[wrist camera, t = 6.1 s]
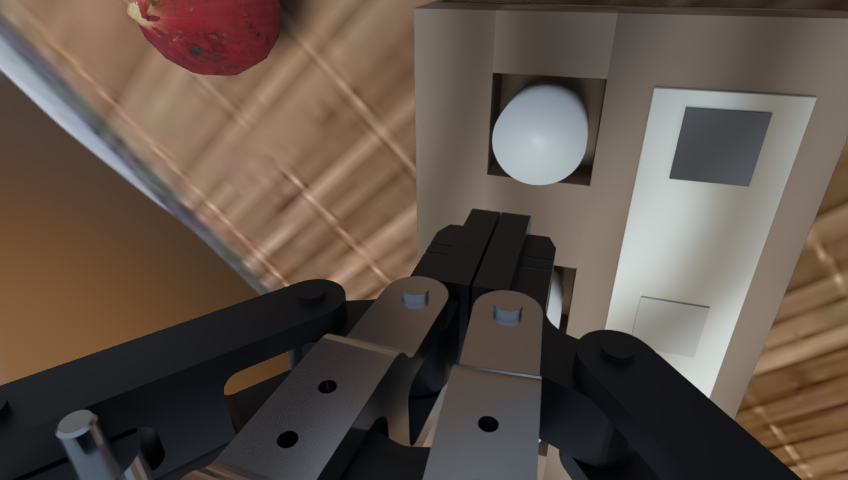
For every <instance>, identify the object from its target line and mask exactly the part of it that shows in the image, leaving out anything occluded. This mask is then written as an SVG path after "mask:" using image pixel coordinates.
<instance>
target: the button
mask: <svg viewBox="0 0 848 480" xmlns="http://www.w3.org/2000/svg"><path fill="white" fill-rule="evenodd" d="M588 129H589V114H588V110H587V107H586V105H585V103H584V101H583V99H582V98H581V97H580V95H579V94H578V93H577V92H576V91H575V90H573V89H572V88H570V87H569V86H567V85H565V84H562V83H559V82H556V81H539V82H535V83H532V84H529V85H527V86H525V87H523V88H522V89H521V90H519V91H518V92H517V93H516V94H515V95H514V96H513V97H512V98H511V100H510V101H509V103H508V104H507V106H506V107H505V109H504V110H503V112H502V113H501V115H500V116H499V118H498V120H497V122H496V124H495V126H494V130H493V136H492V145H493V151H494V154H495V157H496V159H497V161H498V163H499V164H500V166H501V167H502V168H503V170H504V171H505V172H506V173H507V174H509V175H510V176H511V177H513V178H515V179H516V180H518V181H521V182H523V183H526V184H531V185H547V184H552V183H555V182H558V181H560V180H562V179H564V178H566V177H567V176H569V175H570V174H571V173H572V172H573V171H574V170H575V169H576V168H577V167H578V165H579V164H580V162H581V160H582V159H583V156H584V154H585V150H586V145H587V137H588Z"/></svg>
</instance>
